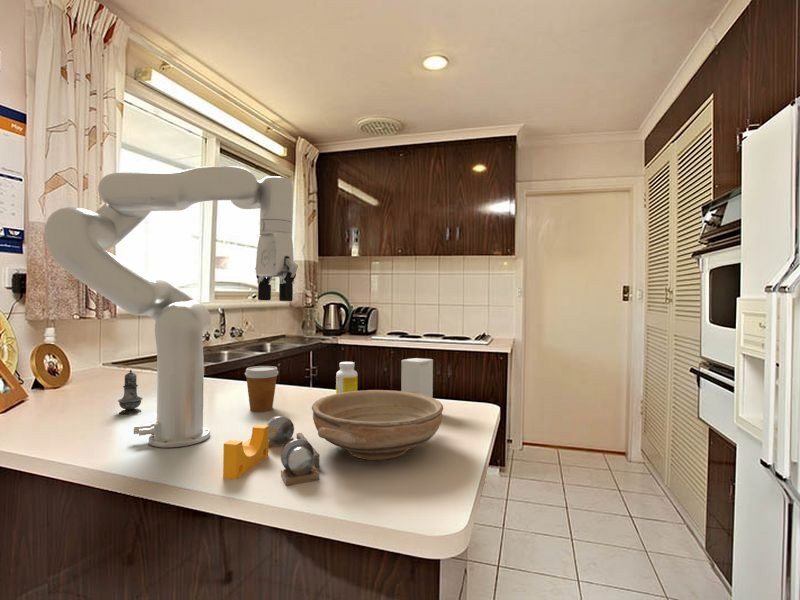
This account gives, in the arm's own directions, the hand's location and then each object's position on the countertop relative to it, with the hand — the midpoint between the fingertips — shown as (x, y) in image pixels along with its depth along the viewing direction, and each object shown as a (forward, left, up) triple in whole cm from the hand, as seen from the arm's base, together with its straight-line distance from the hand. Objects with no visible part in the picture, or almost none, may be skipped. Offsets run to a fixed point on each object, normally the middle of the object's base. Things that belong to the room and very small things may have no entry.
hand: (274, 300), depth 104 cm
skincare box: (+41, +3, -32) cm, 52 cm away
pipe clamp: (-9, -18, -33) cm, 38 cm away
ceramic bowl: (+19, -20, -33) cm, 43 cm away
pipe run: (0, -17, -32) cm, 37 cm away
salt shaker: (-33, +36, -32) cm, 58 cm away
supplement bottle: (+26, +21, -32) cm, 46 cm away
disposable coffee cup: (+1, +25, -32) cm, 41 cm away
